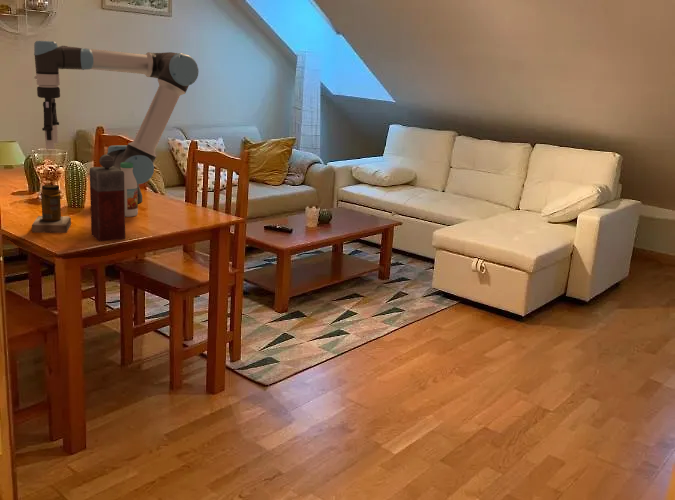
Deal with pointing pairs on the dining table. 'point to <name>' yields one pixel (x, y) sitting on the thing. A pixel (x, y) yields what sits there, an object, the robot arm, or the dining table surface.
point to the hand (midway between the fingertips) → (52, 146)
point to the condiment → (51, 205)
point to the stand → (52, 226)
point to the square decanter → (107, 201)
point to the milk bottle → (130, 189)
